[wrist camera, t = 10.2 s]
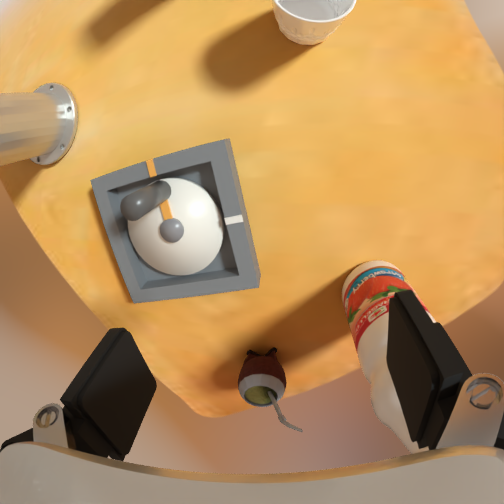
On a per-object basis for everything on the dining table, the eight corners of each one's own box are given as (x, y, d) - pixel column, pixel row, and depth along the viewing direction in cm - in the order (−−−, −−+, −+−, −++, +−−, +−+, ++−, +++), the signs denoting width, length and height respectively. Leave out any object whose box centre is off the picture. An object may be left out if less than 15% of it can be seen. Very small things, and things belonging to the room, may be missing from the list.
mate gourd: (234, 362, 47) (219, 436, 34) (261, 332, 44) (252, 411, 31) (271, 381, 48) (266, 454, 35) (300, 353, 45) (304, 431, 32)
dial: (235, 263, 39) (222, 301, 30) (149, 277, 41) (120, 313, 32) (210, 166, 34) (187, 178, 26) (120, 191, 36) (80, 210, 28)
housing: (143, 291, 43) (133, 304, 40) (104, 175, 37) (89, 180, 34) (260, 274, 41) (258, 288, 37) (229, 138, 34) (223, 139, 31)
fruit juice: (358, 326, 43) (403, 500, 17) (328, 281, 40) (369, 478, 14) (411, 294, 40) (497, 452, 14) (386, 244, 37) (498, 412, 12)
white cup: (258, 16, 28) (250, -19, 18) (309, -13, 25) (316, -52, 16) (301, 61, 30) (308, 37, 20) (351, 30, 27) (373, 1, 18)
